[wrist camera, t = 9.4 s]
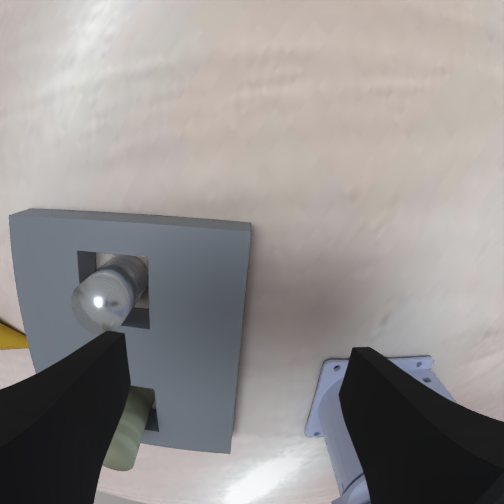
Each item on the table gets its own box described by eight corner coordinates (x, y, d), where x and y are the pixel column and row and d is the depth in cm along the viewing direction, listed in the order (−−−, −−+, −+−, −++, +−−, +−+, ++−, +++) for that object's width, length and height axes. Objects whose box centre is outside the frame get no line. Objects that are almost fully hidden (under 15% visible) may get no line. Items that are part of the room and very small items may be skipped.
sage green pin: (154, 379, 22) (130, 448, 15) (155, 407, 23) (136, 474, 16) (116, 372, 22) (84, 436, 15) (120, 400, 23) (93, 464, 16)
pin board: (250, 222, 19) (251, 231, 17) (230, 431, 24) (230, 453, 21) (30, 208, 18) (8, 215, 16) (63, 403, 23) (52, 420, 20)
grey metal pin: (148, 255, 19) (121, 285, 14) (148, 299, 20) (124, 339, 15) (104, 251, 19) (67, 278, 14) (106, 294, 20) (74, 330, 15)
